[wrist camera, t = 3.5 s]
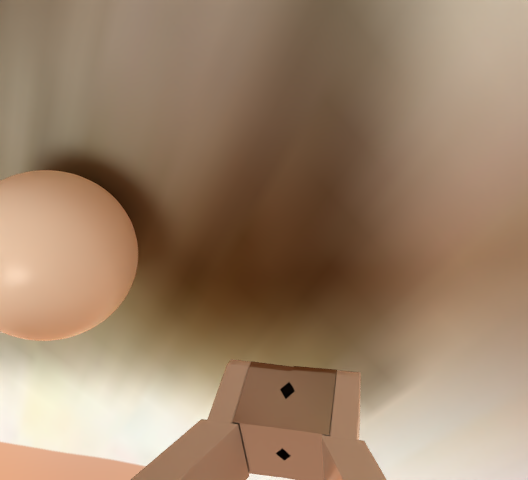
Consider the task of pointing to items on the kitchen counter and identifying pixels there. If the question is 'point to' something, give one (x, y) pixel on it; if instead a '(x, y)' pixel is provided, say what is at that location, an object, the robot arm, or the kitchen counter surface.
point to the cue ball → (61, 255)
